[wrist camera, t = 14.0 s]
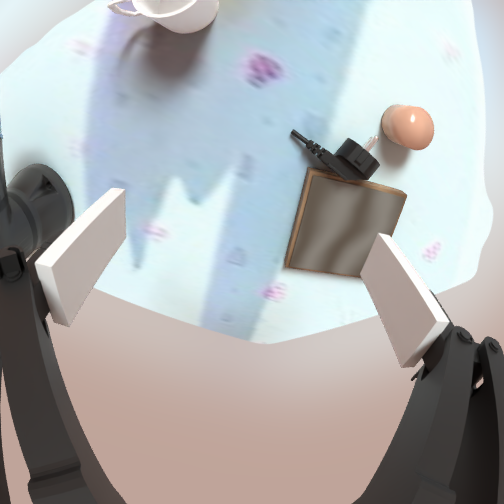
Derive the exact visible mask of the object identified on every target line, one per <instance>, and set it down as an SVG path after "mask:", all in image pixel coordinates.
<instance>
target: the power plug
mask: <svg viewBox="0 0 504 504" xmlns="http://www.w3.org/2000/svg"><path fill="white" fill-rule="evenodd" d="M291 134H293V135H294V136H295V137H297V138H298V139H299V140H301V141H302V142H303V143H305V144H306V147H307V148H308V149H309V148H311V150H310V151H311V152H312V153H313V154H314V155H315V154H316V153H318V154H317V156H316V157H317V158H319V159H320V160H321V161H322V162H323V163H324V164H326V165H327V166H328V167H329V168H331V169H332V170H333V171H334V172H335V173H337V174H338V175H339V176H340V177H341V178H343V179H344V180H368V179H369V178H370V177H371V176H372V175H373V173H374V172H375V171H376V170H377V168H378V167H379V166H380V164H379V162H378V161H377V160H376V159H375V158H374V157H373V156H372V155H371V154H370V153H369V151H370V150H371V149H372V147H373V146H374V145H375V144H376V142H377V141H378V140H379V138H378V136H374V137H370V139H369V140H368V141H367V142H366V144H365V145H364V146H363V147H361V146H360V145H359V144H358V143H356V142H355V141H353V140H352V139H350V138H347V140H346V141H345V142H344V143H343V145H342V146H341V147H340V148H339V150H338V151H337V152H336V153H335V154H334V155H333V154H331V153H330V152H329V151H327V150H326V149H324V148H322V149H321V150H320V147H321V146H320V145H318V144H317V143H315V145H314V144H313V143H314V142H313V141H312V140H307V139H306V138H305V137H303V136H302V135H301V134H299V133H298V132H297V131H295V130H294V129H293V130H292V132H291Z"/></svg>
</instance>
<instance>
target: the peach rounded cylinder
mask: <svg viewBox="0 0 504 504" xmlns="http://www.w3.org/2000/svg"><path fill="white" fill-rule="evenodd" d="M382 128H383V131H384V133H385V135H386V136H387V138H388V139H389V140H391V141H392V142H394V143H397V144H400V145H402V146H405V147H408V148H410V149H413V150H422V149H424V148H426V147H427V146H428V145H429V144H430V143H431V141H432V139H433V135H434V124H433V121H432V118H431V116H430V115H429V114H428V112H427V111H425V110H424V109H422V108H420V107H414V106H406V105H392V106H390V107H389V108H388V109H387V110H386V111H385V112H384V115H383V118H382Z"/></svg>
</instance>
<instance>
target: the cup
mask: <svg viewBox="0 0 504 504" xmlns="http://www.w3.org/2000/svg"><path fill="white" fill-rule="evenodd" d="M128 1H132V2H133V4H134V7H135V8H136V9H137V10H138V11H137V12H131V11H127V10H123V9H120V8H119V7H118V6H117V5H116V4H119V3H123V2H128ZM107 7H108V8H109V9H111V10H112V11H113V12H114V13H116V14H121V15H125V16H139V15H145V16H147V17H149V18H150V19H152V20H154V21H155V22H157V23H159V24H161V25H162V26H164V27H165V28H167V29H169V30H171V31H173V32H176V33H183V34H185V33H192V32H196V31H199V30H201V29H203V28H205V27H206V26H207V25H209V24H210V23H211V22H212V21H213V20H214V18H215V17H216V15H217V12H218V9H219V2H218V0H114V1H112V2H110V3H109V4H108V5H107Z"/></svg>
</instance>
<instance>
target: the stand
mask: <svg viewBox="0 0 504 504" xmlns="http://www.w3.org/2000/svg"><path fill="white" fill-rule="evenodd" d="M406 198H407V195H406V194H405V193H404V192H403V191H401V190H398V189H394V188H391V187H388V186H384V185H380V184H377V183H373V182H369V181H366V180H344V179H343V178H341V177H340V176H339V175H338V174H337V173H333V172H329V171H324V170H320V169H315V168H311V167H308V168H307V173H306V177H305V181H304V185H303V189H302V193H301V197H300V201H299V205H298V209H297V213H296V217H295V221H294V225H293V229H292V233H291V237H290V241H289V244H288V248H287V252H286V256H285V260H284V261H285V267H288V268H295V269H302V270H309V271H317V272H324V273H331V274H338V275H345V276H353V277H360V278H361V275H360V273H361V271H362V269H363V266H364V264H365V262H366V260H367V258H368V255H369V253H370V251H371V248H372V246H373V244H374V241H375V239H376V237H377V234H378V233H381V234H386V235H390V237H392V235H393V232H394V230H395V227H396V225H397V222H398V219H399V217H400V214H401V212H402V209H403V206H404V203H405V201H406Z"/></svg>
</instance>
